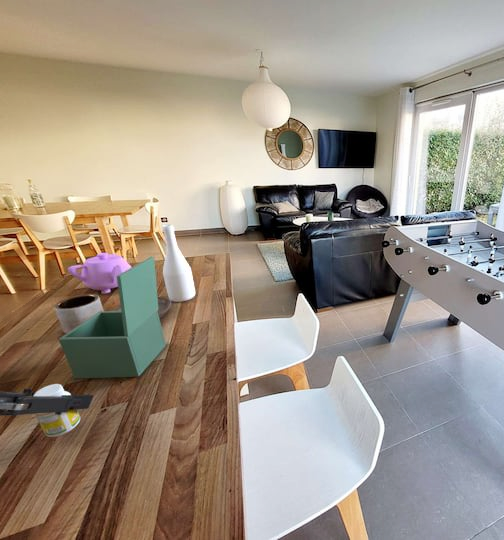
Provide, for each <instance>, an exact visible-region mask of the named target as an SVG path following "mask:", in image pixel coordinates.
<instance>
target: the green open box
mask: <svg viewBox="0 0 504 540" xmlns="http://www.w3.org/2000/svg"><path fill="white" fill-rule="evenodd" d="M58 342H59V344H60V346H61V348H62V351H63V353H64V356H65V358H66V360H67V364H68V366H69V368H70V370H71V373H72V375H73V377H74V379H106V378H107V379H110V378H136V377H137V378H138V377H140V376H142V374H143V372H144V371H145V370H146V369H147V368H148V367H149V366H150V364H151V363H152V362H153V361H154V360H155V359H156V358H157V357H158V355H159V354H160V353H162V350H164V348H166V346H167V343H166V339H165V335H164V331H163V327H162V323H161V320H160V318H159V315H158V311H156V312H155V313H154V314H153V315H152V316H151V317H149V318H148V319H147V320H146V321H145V322H144V323H143V324H142V325H141V326H139V327H138V328H137V329H136V330H135V331H134V332H133V333H132V334H130V335H129V336H128V337H127V336H125V335H124V327H123V320H122V312H121V311H113V310H104V311H100V312H98V313H97V314H95V315H94V316H92V317H91V318H89V319H88V320H86V321H85V322H83V323H82V324H80V325H79V326H77V327H76V328H74V329H73V330H71V331H70V332H69V333H67V334H66V333H65V334H64V335H62V336H61V337H60V338H58Z"/></svg>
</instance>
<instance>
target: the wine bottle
mask: <svg viewBox="0 0 504 540" xmlns="http://www.w3.org/2000/svg"><path fill="white" fill-rule="evenodd" d="M161 229H162V233H163V235H164V239H165V245H166V246H165V247H166V249H165V256H164V263H163V266H162V276H163V280H164V284H165V289H166V293H167V297H168V298H167V299H169V300H170V301H171V302H173V303H182V302H186V301H190V300H192V299H194V298H195V297H196V288H195V283H194V278H193V272H192V268H191V266H190V265H189V263H188V261H187V260H186V258H185V256H184V255H183V254H182V252H181V250H180V249H179V246H178V243H177V239H176V235H175V227H174V226H173V224H164V225H162V227H161Z"/></svg>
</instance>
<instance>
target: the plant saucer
mask: <svg viewBox="0 0 504 540" xmlns="http://www.w3.org/2000/svg"><path fill="white" fill-rule="evenodd" d="M157 297H158V310H157V311H158V315H159V319H160V318H162V317H164V316H165V314H166V313H168V311H169V310H170V307H171V305H172V301H171V300H170V299H169V298H167V297H163V296H157ZM112 311H121V305H119V306H117V307H116V308H114V309H113V310H112Z"/></svg>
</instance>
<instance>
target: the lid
mask: <svg viewBox="0 0 504 540" xmlns="http://www.w3.org/2000/svg"><path fill="white" fill-rule="evenodd" d="M131 267H132V268H130V269H128V270H126V271H125V272H123V273H121V274H119V275H118V276H117V283H118V287H117V289H118V297H119V304H120V305H119V306H121V312H122V320H123V327H124V335H125V336H127V337H128V336H129V335H130V334H132V333H133V332H134V331H135V330H136V329H137V328H138V327H139V326H141V325H142V324H143V323H144V322H145V321H146V320H147V319H148V318H149V317H151V316H152V315H153V314H154V313H155V312H156V311H157V310H158V297H159V296H158V287H157V273H156V263H155V256H150V257H148V258H146V259H144V260H142V261H140V262H139V263H137V264H135V265H133V266H131Z"/></svg>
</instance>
